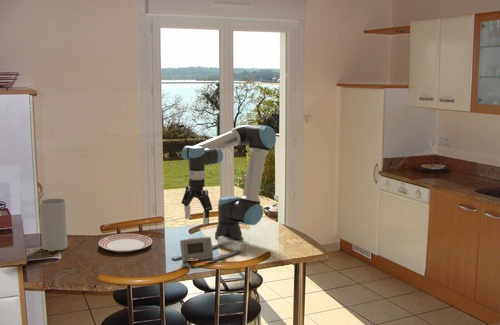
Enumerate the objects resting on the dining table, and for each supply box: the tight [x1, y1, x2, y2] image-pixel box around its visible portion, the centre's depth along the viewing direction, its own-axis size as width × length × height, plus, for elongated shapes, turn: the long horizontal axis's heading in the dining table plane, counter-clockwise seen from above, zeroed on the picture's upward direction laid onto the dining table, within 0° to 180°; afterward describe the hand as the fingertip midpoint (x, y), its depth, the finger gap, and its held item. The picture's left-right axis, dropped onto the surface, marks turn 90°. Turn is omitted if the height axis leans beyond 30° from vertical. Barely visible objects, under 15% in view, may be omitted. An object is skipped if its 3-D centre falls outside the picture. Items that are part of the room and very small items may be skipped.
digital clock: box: [179, 236, 214, 263], centre depth 275 cm, size 16×9×11 cm, turn 103°
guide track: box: [171, 236, 246, 269], centre depth 281 cm, size 17×34×5 cm, turn 136°
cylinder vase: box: [39, 198, 68, 251], centre depth 288 cm, size 12×12×25 cm
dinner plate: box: [98, 233, 153, 253], centre depth 294 cm, size 27×27×3 cm
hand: (196, 221), depth 273 cm, fingers open, 13 cm apart
